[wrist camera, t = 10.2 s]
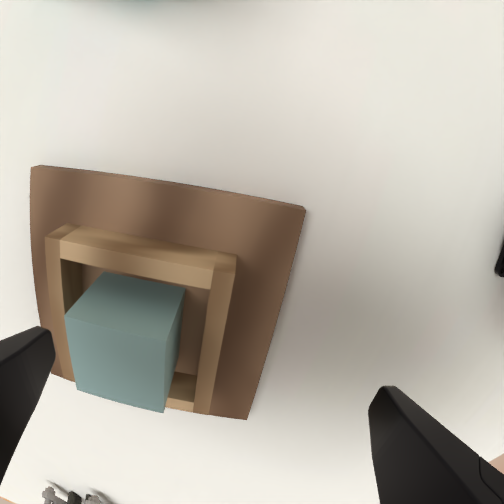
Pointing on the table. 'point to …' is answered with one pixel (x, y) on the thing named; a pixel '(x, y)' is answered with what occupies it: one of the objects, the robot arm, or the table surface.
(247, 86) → the table surface
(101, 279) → the block
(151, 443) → the table surface
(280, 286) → the board
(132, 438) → the table surface
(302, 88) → the table surface
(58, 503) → the bike brake
